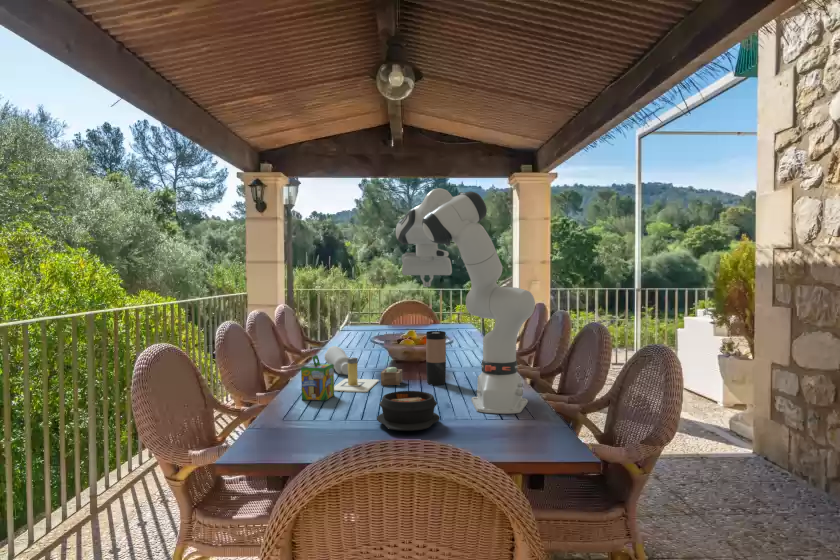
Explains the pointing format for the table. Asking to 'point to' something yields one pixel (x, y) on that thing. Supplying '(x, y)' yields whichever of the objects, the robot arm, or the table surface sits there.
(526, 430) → the table surface
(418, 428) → the casserole
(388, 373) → the button housing
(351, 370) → the spice shaker
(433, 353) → the travel mug
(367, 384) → the drawing pad
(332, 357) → the bottle
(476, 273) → the robot arm
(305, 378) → the chalk box
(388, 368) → the button
